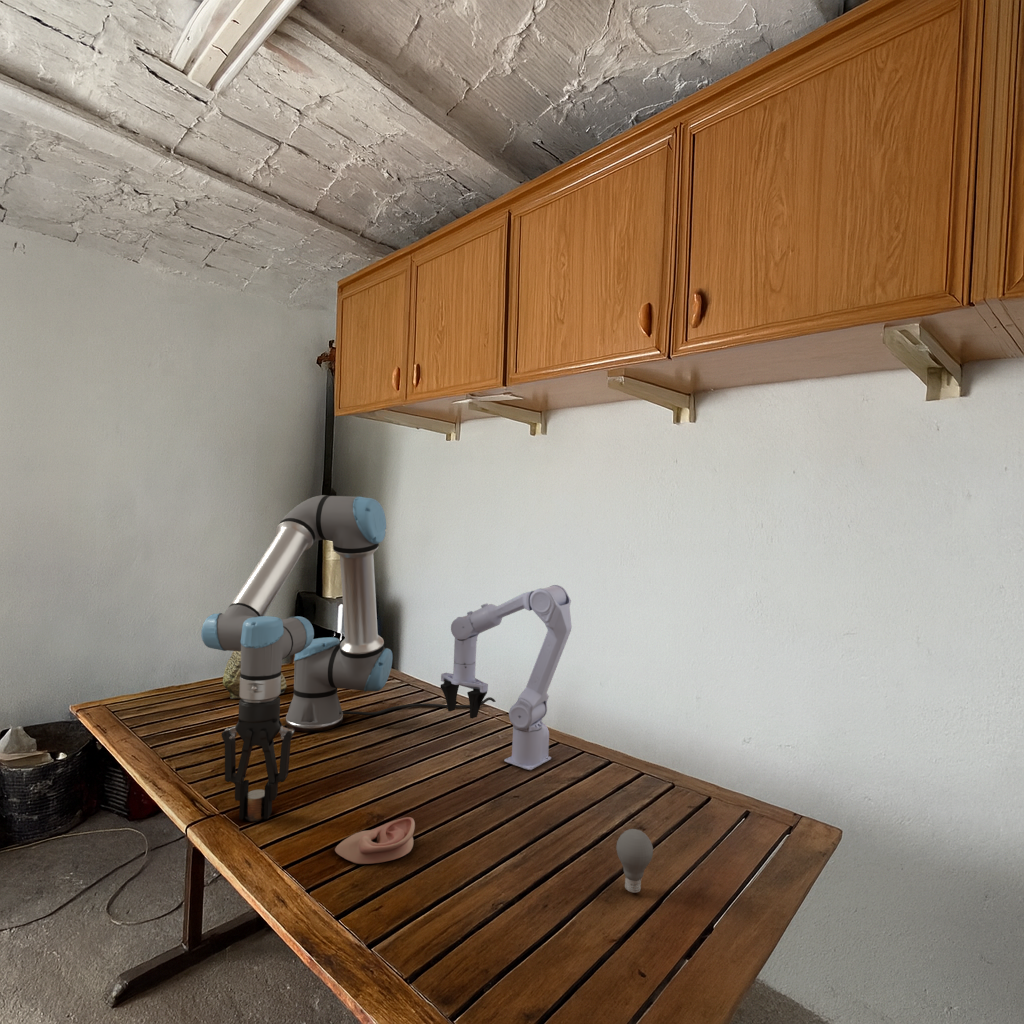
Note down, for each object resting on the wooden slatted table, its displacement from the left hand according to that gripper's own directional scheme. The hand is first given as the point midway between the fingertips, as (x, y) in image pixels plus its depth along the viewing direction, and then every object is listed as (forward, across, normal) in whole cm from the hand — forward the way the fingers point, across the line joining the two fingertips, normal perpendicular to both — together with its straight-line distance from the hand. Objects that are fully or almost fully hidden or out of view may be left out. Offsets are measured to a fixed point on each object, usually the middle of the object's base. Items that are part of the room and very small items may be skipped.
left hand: (255, 815), depth 124 cm
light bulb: (0, +68, -25) cm, 73 cm away
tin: (0, 0, 0) cm, 0 cm away
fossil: (0, -23, +76) cm, 80 cm away
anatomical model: (0, +24, -11) cm, 27 cm away
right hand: (-8, +41, +37) cm, 56 cm away
